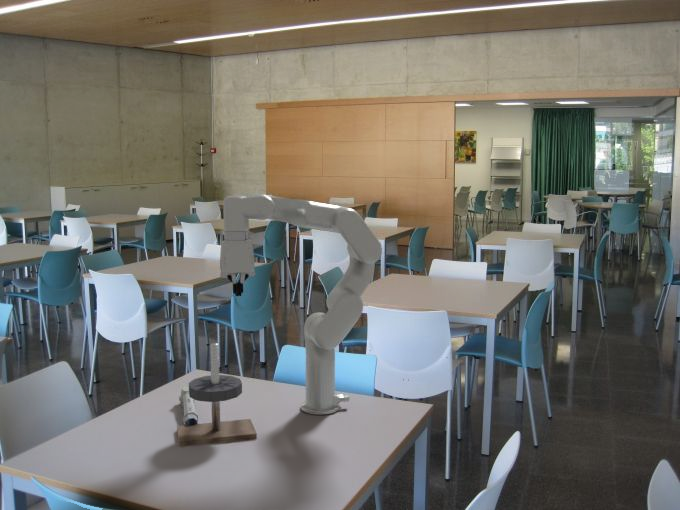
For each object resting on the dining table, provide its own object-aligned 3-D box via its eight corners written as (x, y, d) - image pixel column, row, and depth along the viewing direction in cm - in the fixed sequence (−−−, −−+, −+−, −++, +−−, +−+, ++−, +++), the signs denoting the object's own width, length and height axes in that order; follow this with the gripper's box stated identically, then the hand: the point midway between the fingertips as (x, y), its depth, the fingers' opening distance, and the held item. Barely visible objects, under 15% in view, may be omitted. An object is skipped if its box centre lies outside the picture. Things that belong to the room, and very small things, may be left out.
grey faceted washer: (237, 382, 215) (237, 373, 215) (244, 399, 201) (244, 388, 201) (187, 387, 211) (187, 377, 211) (191, 403, 197) (191, 393, 197)
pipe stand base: (250, 423, 217) (250, 418, 217) (256, 438, 205) (256, 433, 205) (177, 430, 211) (177, 426, 211) (179, 446, 199) (179, 441, 199)
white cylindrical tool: (182, 418, 211) (178, 382, 234) (182, 438, 212) (178, 400, 236) (200, 417, 212) (194, 380, 235) (200, 437, 214) (194, 399, 237)
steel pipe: (220, 427, 210) (218, 342, 206) (221, 431, 207) (220, 344, 203) (210, 428, 209) (208, 343, 205) (211, 432, 206) (209, 345, 202)
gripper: (258, 234, 220) (260, 291, 223) (210, 236, 216) (212, 294, 219) (263, 236, 213) (264, 296, 216) (213, 238, 209) (215, 299, 212)
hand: (238, 295), depth 217 cm, fingers closed
